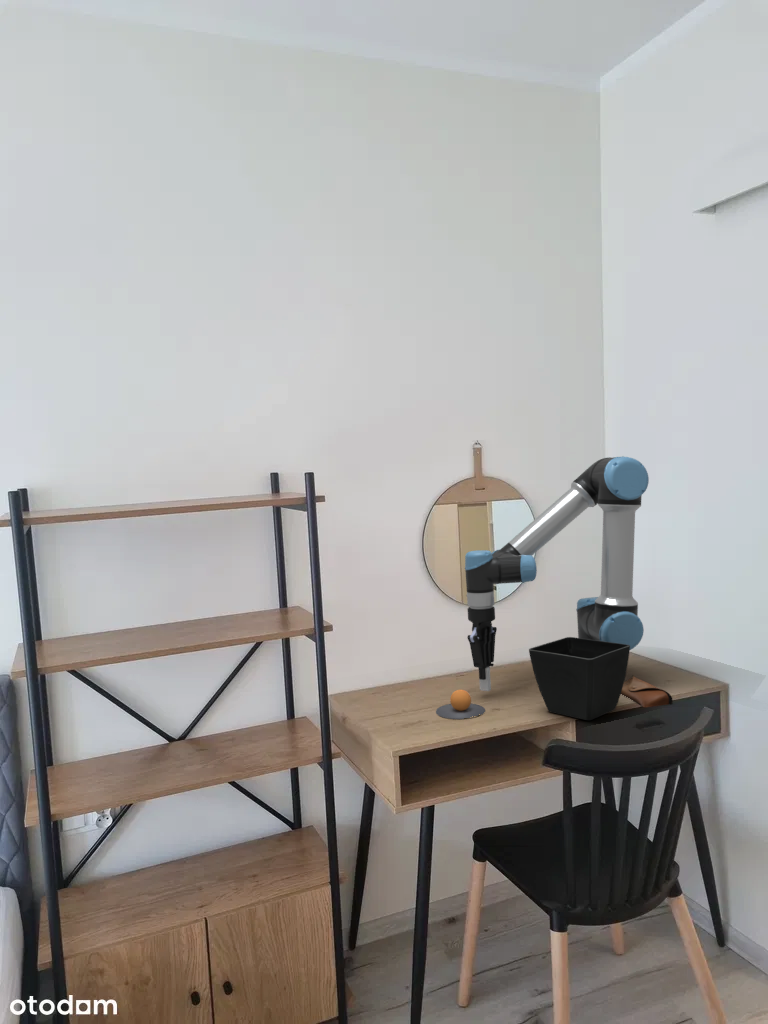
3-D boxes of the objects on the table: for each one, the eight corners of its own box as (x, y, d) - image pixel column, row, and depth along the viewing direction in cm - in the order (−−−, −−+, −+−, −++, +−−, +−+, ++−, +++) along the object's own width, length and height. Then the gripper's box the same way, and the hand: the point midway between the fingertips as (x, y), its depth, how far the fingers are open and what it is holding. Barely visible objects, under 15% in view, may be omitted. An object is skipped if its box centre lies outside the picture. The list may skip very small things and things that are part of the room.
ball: (454, 711, 205) (458, 691, 207) (472, 714, 201) (476, 693, 203) (444, 706, 201) (448, 686, 203) (463, 709, 197) (467, 688, 199)
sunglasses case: (607, 689, 213) (618, 667, 213) (627, 699, 214) (637, 678, 215) (644, 708, 195) (655, 684, 196) (665, 719, 197) (676, 695, 197)
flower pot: (571, 695, 210) (568, 634, 209) (634, 708, 196) (631, 643, 195) (529, 713, 197) (526, 648, 196) (594, 728, 183) (591, 659, 182)
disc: (451, 701, 211) (451, 700, 211) (493, 707, 203) (493, 706, 203) (426, 714, 200) (426, 714, 200) (469, 722, 192) (469, 721, 192)
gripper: (480, 601, 219) (484, 682, 220) (457, 609, 208) (462, 694, 210) (503, 603, 214) (508, 685, 216) (481, 611, 204) (486, 698, 205)
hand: (485, 689), depth 213 cm, fingers closed
